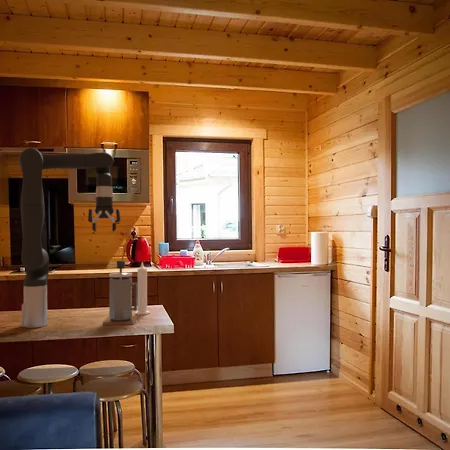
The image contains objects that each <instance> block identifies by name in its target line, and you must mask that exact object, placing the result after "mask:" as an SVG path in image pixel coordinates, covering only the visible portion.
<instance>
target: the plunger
mask: <svg viewBox="0 0 450 450" xmlns="http://www.w3.org/2000/svg"><path fill="white" fill-rule="evenodd" d="M116 269H118V270H119V272H110V273H109V274H108V276H109V277H110V278H117V277H120V279H122V277H132V276H133V272H124V271H123V269H126V260H116Z"/></svg>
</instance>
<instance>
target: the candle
mask: <svg viewBox="0 0 450 450" xmlns="http://www.w3.org/2000/svg"><path fill="white" fill-rule="evenodd" d="M150 312H151V311H149V310H148V268H147V267H145V266H144V262H143V261H142V262H141V264H140V267H138V268H137V310H136V311H135V312H134V314H135V315H136V314H137V315H136V316H143V315H149V314H150Z"/></svg>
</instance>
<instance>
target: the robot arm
mask: <svg viewBox="0 0 450 450" xmlns="http://www.w3.org/2000/svg"><path fill="white" fill-rule="evenodd" d="M17 160H18V165H19V167H20V169H21V172H22V174H21V175H22V188H21V195H20V216H21V217H20V219H21V230H22V231H21V232H22V242H21V243H22V244H21V245H22V247H21V258H20V259H21V264H22V265H23V267H24V268H25V277H24V280H23V303H21V328H28V329H30V328H31V329H33V328H35V329H36V328H42V327H45V326H47V325H48V280H49V273H50V272H49V271H50V268H49V267H50V266H49V265H50V257H49V254H48V252H47V250H45V249H44V248H43V245H42V232H43V227H44V223H45V217H46V216H45V212H46V211H45V196H44V188H43V171H44V170H50V169H52V170H53V169H67V170H68V169H70V170H73V169H75V170H80V169H81V170H84V169H85V170H86V169H88V170H89V169H92V168H95V175H96V182H95V183H96V189H95V208H94V209H92V208H89V209H88V216H87V217H88V218H87V222H89V223H92V226H91V228H92V231H93V232H97V222H98V220H99V219H109V220H111V222H112V227H111V228H112V230H111V231H112V232H113V233H114V232H115V231H116V230H117V223H120V222H121V210H120V209H119V208H116V209H114V208H113V207H114V206H113V205H114V204H113V203H114V202H113V201H114V198H113V197H114V193H113V190H114V189H113V177H112V175H111V167H112V166H113V165H114V162H115V160H114V156H113V155H112V154H110V153H108V152H93V153H92V152H91V153H85V152H70V153H69V152H68V153H60V154H59V153H58V154H46V153H45V154H44V153H41V152H40V151H39V150H38V149H36V148H33V147H28V148H25V149H24V150H22V152H21V153H20V154H19V156H18V159H17ZM113 213H114V214H115V215H116V216H115V217H116V219H115V217H114V216H113ZM93 214H96V215H95V217H94V218H93Z"/></svg>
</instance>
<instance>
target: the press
mask: <svg viewBox="0 0 450 450" xmlns="http://www.w3.org/2000/svg"><path fill="white" fill-rule="evenodd" d="M108 279H109V282H108V283H109V290H108V291H109V294H108V295H109V301H108V302H109V305H108V306H109V309H108V310H109V312H108V313H109V315H108V317H107V318H106V319H105V320H103V321H102V326H117V325H118V326H122V325H124V326H125V325H128V326H129V325H131V326H132V325H134V324H135V323H136V322H137V320H138V319H139V315H133V311H135V312H136V311H138V282H133V277H130V276H128V277H122V279H120V277H110V278H108ZM135 321H136V322H135Z"/></svg>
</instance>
